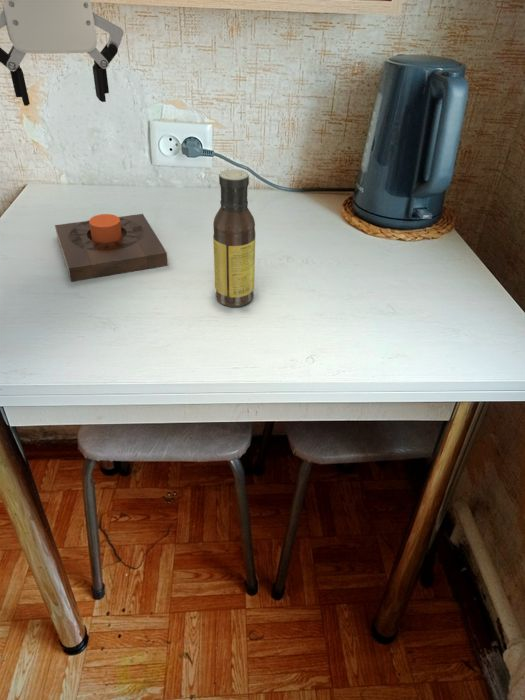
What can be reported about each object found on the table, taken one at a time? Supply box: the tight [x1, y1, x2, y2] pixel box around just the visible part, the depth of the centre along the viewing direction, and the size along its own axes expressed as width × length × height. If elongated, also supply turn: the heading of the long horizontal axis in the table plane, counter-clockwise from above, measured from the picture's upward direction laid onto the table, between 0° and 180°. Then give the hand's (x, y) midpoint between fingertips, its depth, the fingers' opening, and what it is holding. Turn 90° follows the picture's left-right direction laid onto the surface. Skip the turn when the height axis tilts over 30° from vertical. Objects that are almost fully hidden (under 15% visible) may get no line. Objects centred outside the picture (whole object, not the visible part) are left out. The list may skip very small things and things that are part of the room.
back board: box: [54, 213, 169, 282], centre depth 90 cm, size 16×16×2 cm
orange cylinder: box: [89, 213, 122, 243], centre depth 90 cm, size 5×5×5 cm
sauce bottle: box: [212, 169, 256, 308], centre depth 75 cm, size 6×6×20 cm
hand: (64, 101), depth 68 cm, fingers open, 9 cm apart
